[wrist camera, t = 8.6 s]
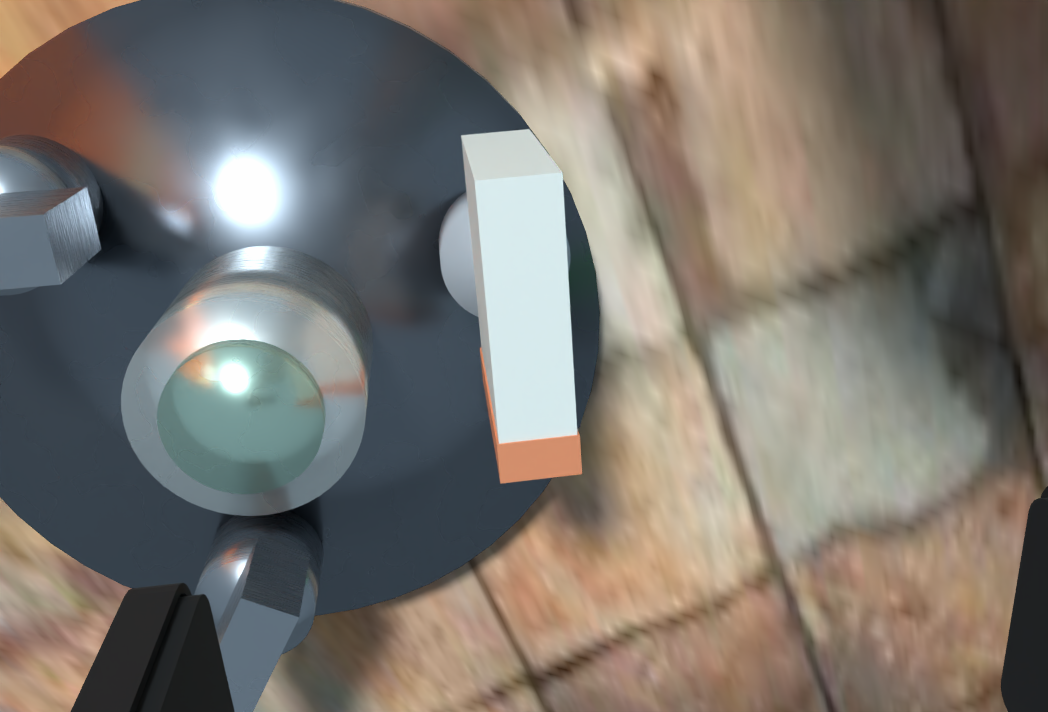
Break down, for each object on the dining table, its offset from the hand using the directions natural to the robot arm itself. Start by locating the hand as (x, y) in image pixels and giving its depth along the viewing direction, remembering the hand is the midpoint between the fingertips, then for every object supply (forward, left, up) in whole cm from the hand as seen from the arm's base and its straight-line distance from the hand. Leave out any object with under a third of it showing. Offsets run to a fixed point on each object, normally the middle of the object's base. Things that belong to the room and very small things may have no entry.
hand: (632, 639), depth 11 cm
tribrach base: (+7, +3, -20) cm, 22 cm away
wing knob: (0, 0, -19) cm, 19 cm away
